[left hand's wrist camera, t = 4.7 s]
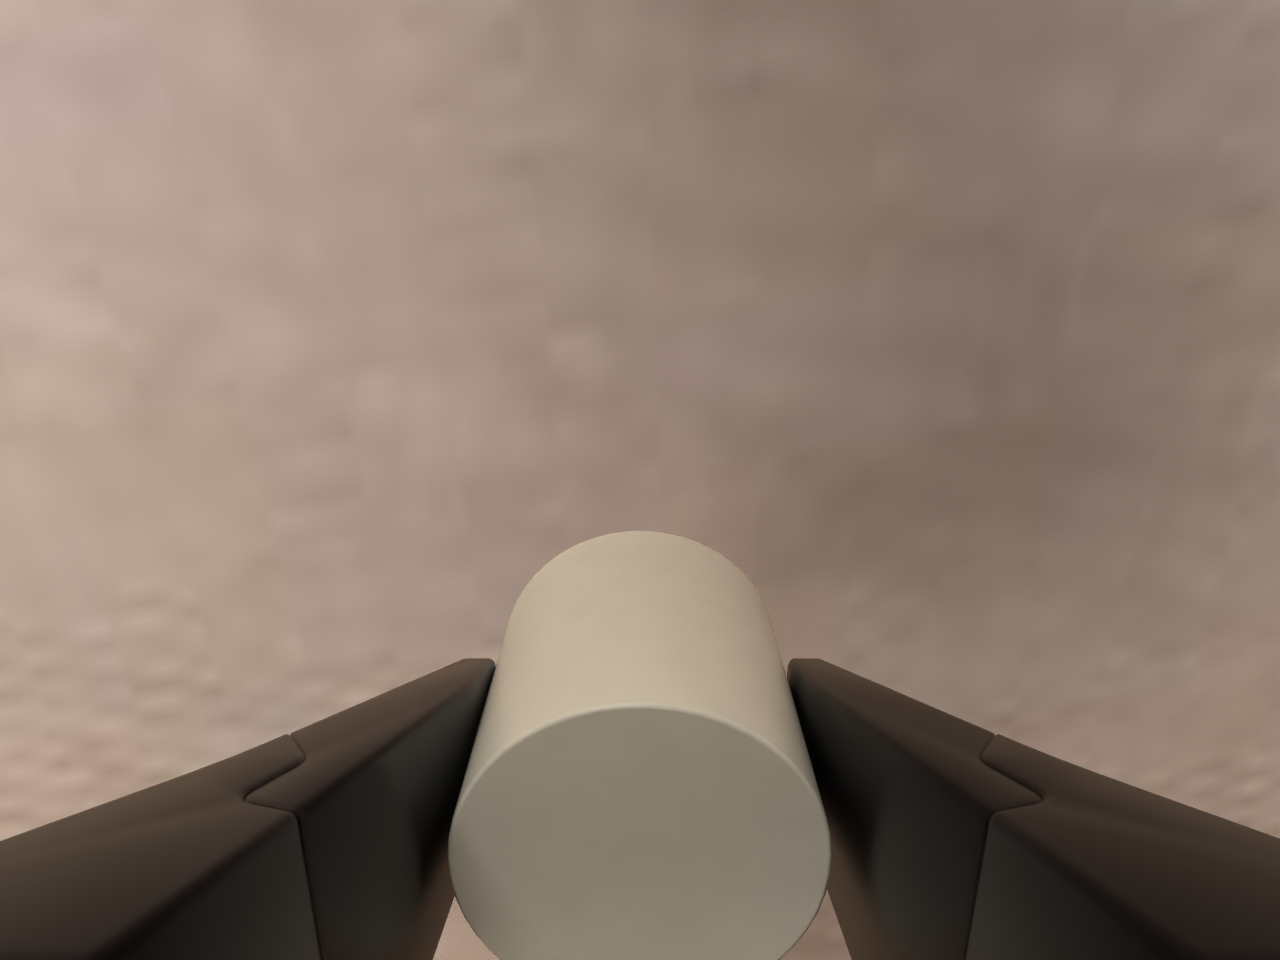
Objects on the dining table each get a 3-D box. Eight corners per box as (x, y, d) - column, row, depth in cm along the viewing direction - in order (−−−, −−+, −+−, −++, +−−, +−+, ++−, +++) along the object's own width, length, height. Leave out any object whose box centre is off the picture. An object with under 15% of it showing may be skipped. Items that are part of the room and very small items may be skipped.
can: (677, 803, 13) (691, 1059, 10) (457, 687, 13) (379, 912, 9) (827, 616, 12) (913, 822, 9) (596, 478, 12) (574, 634, 8)
